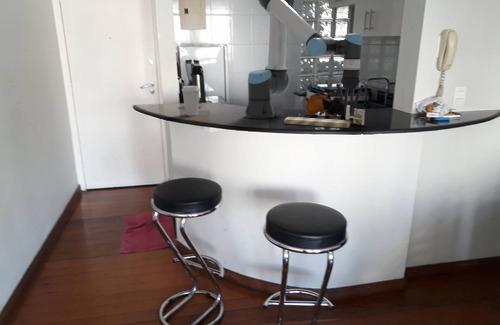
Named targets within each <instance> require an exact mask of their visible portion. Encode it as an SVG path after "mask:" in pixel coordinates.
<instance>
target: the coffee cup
mask: <svg viewBox="0 0 500 325" xmlns="http://www.w3.org/2000/svg"><path fill="white" fill-rule="evenodd" d="M200 90H201V89H200V87H199V86H198V85H184V86H182V89H181V91H182V96H183V104H184V105H183V106H184V112H185V116H187V115H188V116H187V117H192V116H198V115H199V100H200V97H199V96H200V94H199V93H200Z"/></svg>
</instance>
